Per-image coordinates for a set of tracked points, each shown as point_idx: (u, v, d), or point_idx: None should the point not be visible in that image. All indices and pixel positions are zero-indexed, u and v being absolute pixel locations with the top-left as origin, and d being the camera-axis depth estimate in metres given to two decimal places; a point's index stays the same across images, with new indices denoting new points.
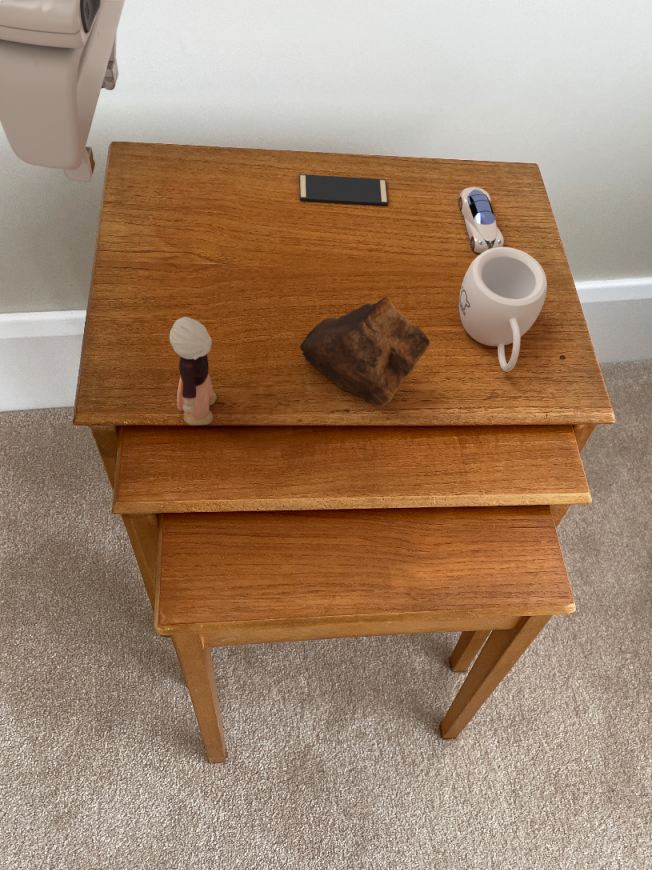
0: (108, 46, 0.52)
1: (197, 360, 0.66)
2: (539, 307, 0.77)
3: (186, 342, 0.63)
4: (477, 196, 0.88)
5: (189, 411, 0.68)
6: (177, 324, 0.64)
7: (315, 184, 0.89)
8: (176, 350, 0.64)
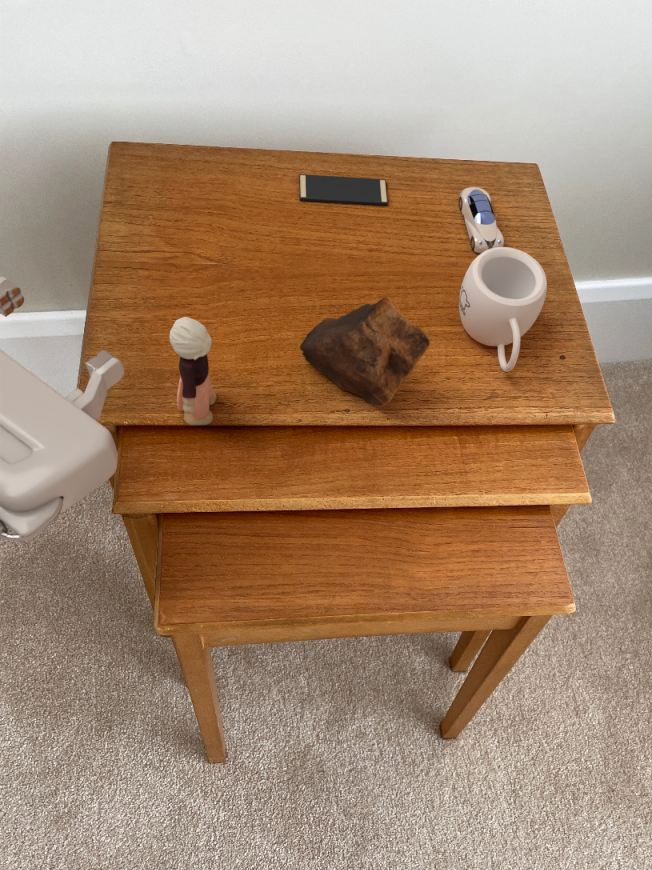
0: None
1: (197, 360, 0.66)
2: (539, 307, 0.77)
3: (186, 342, 0.63)
4: (477, 196, 0.88)
5: (189, 411, 0.68)
6: (177, 324, 0.64)
7: (315, 184, 0.89)
8: (176, 350, 0.64)
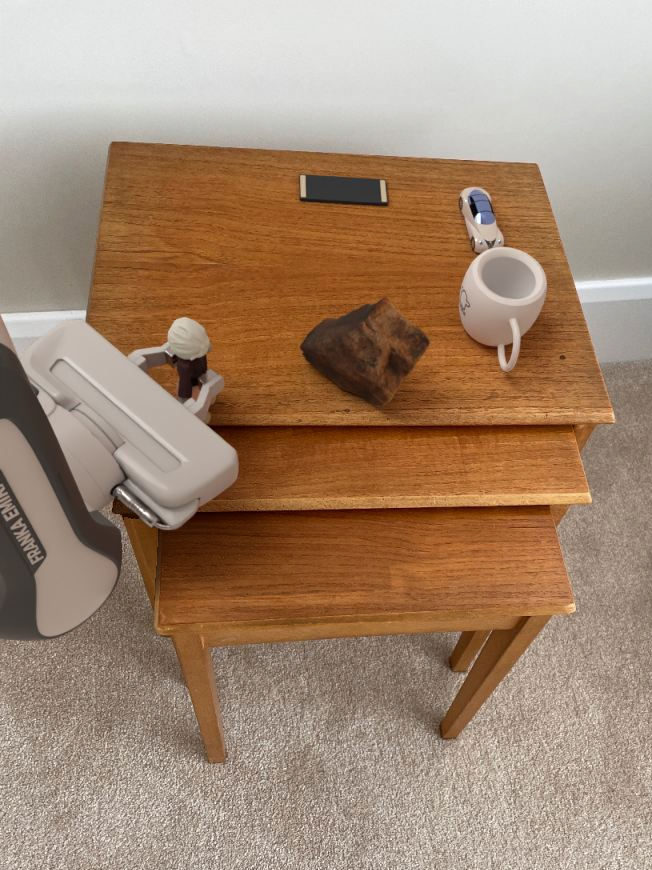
0: None
1: (195, 361, 0.66)
2: (539, 307, 0.77)
3: (183, 342, 0.63)
4: (478, 196, 0.88)
5: None
6: (176, 324, 0.64)
7: (315, 184, 0.89)
8: (173, 350, 0.64)
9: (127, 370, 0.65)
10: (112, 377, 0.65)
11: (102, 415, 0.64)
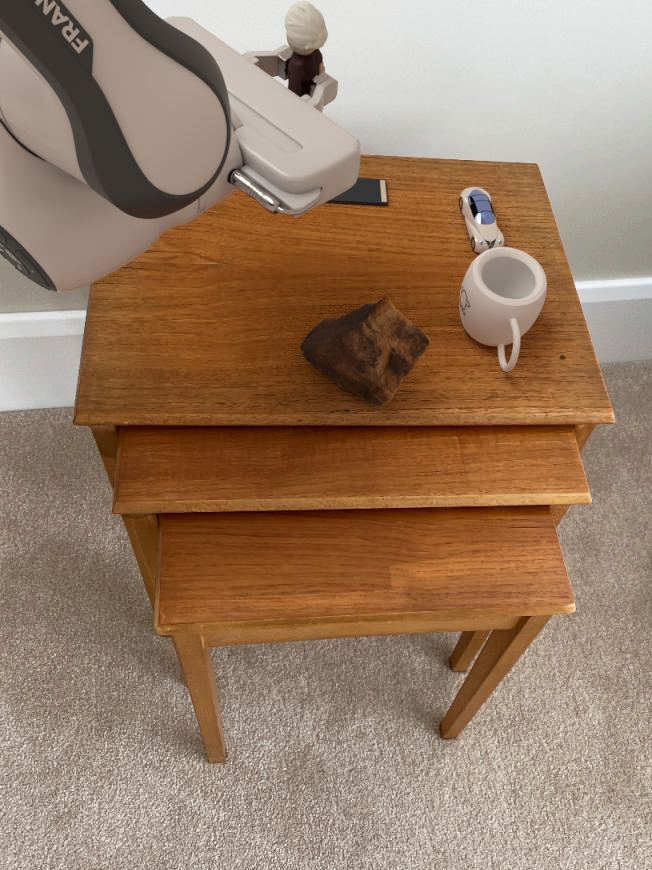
0: None
1: (308, 60, 0.62)
2: (539, 307, 0.77)
3: (301, 24, 0.59)
4: (478, 196, 0.88)
5: None
6: (295, 5, 0.59)
7: None
8: (289, 34, 0.60)
9: (240, 62, 0.61)
10: (224, 68, 0.61)
11: None
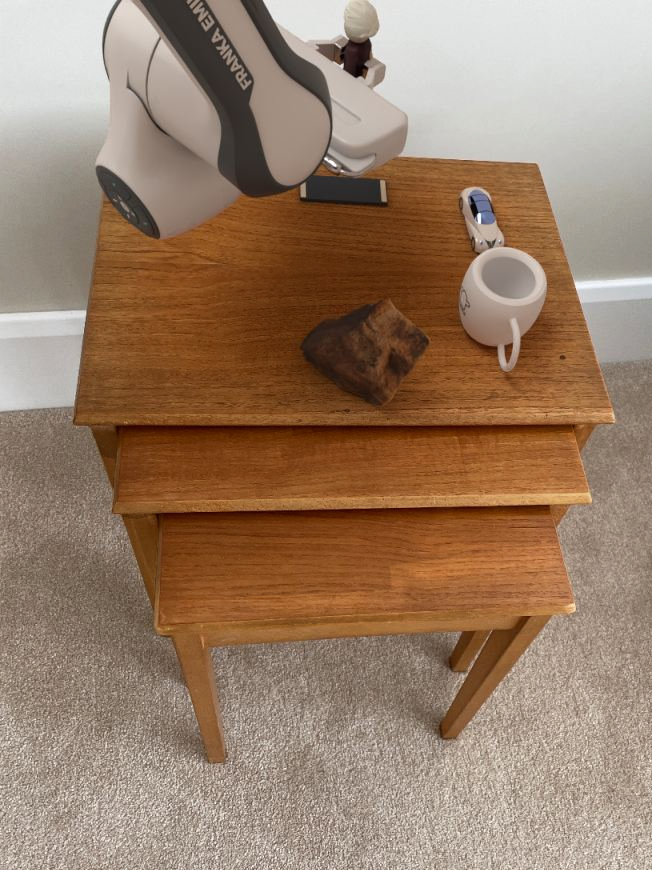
0: None
1: (362, 47, 0.73)
2: (539, 307, 0.77)
3: (358, 16, 0.70)
4: (478, 196, 0.88)
5: None
6: (353, 0, 0.70)
7: (315, 184, 0.89)
8: (347, 24, 0.71)
9: (305, 49, 0.72)
10: None
11: None
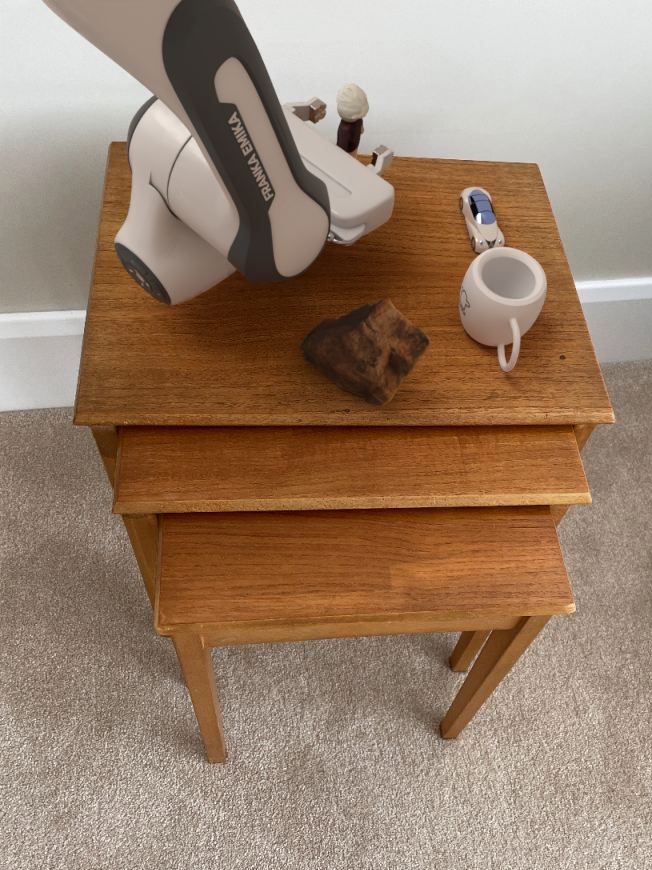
0: None
1: (353, 125, 0.81)
2: (539, 307, 0.77)
3: (349, 101, 0.78)
4: (478, 196, 0.88)
5: None
6: (345, 86, 0.78)
7: None
8: (340, 107, 0.78)
9: (301, 126, 0.79)
10: (289, 130, 0.79)
11: None
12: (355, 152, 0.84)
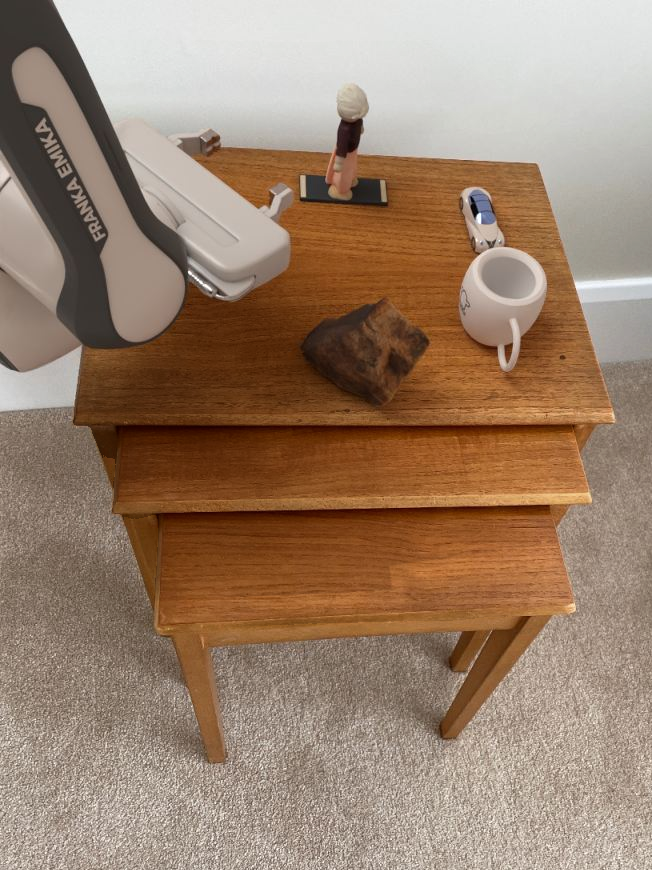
0: None
1: (353, 125, 0.81)
2: (539, 307, 0.77)
3: (349, 101, 0.78)
4: (478, 196, 0.88)
5: (338, 169, 0.82)
6: (345, 86, 0.78)
7: (315, 184, 0.89)
8: (340, 107, 0.78)
9: (185, 162, 0.69)
10: (171, 167, 0.69)
11: None
12: (355, 152, 0.84)
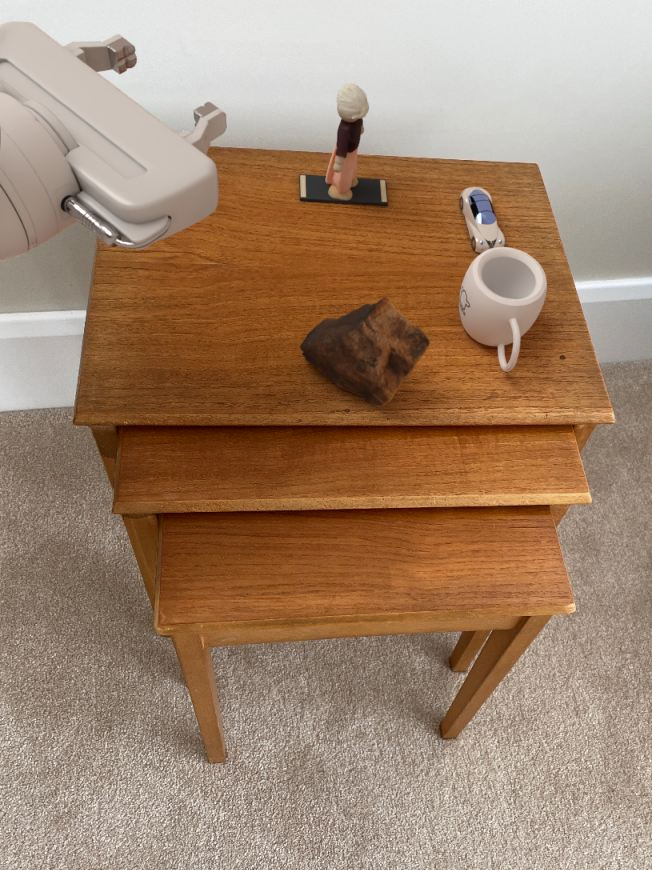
0: None
1: (353, 125, 0.81)
2: (539, 307, 0.77)
3: (349, 101, 0.78)
4: (478, 196, 0.88)
5: (338, 169, 0.82)
6: (345, 86, 0.78)
7: (315, 184, 0.89)
8: (340, 107, 0.78)
9: (84, 74, 0.54)
10: (65, 80, 0.54)
11: None
12: (355, 152, 0.84)
